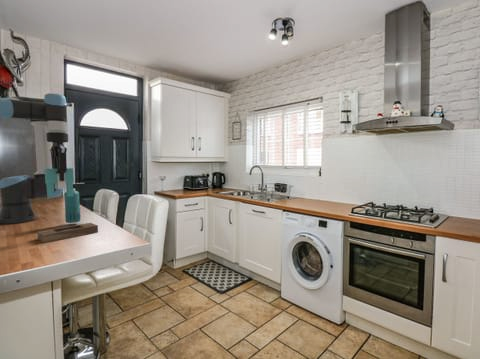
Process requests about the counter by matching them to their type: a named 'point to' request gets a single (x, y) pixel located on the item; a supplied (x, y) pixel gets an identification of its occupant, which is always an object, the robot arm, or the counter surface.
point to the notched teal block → (52, 178)
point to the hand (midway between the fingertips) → (60, 188)
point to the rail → (67, 232)
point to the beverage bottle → (72, 207)
